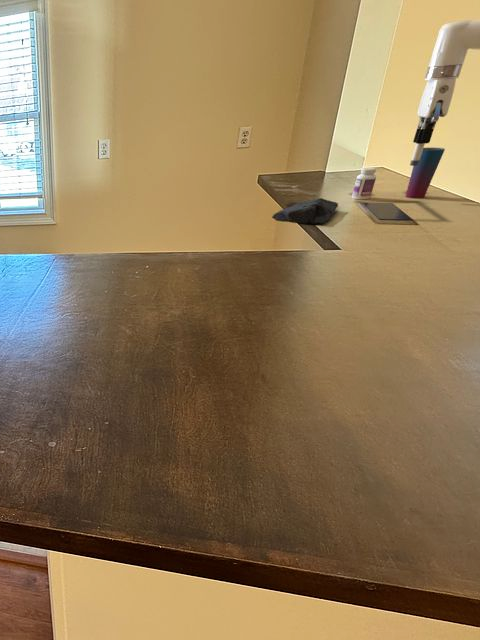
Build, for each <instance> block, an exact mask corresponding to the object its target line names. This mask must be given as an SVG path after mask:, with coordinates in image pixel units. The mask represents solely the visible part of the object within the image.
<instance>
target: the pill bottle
mask: <svg viewBox="0 0 480 640" xmlns="http://www.w3.org/2000/svg"><path fill="white" fill-rule="evenodd" d="M376 171H377V168H376V167H362V168H361V169H360V174H358V175H357V176H356V180H355V183H354V186H353V190H352V194H351V198H352V199H354V200H369V199H370V198H371V196H372V193H373V190H374V186H375V183H376V179H377V176H376Z"/></svg>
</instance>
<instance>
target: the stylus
mask: <svg viewBox="0 0 480 640" xmlns="http://www.w3.org/2000/svg"><path fill="white" fill-rule="evenodd" d="M422 126H423V124H422ZM421 129H422V128H421ZM425 145H426V143H425V144H417V143H415V146H414V151H413V154H412V156H411V160H410V163H409V166H412V167H413V166H417V165H418V163H419V160H420V157H421V154H422V151H423V148H425Z"/></svg>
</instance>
